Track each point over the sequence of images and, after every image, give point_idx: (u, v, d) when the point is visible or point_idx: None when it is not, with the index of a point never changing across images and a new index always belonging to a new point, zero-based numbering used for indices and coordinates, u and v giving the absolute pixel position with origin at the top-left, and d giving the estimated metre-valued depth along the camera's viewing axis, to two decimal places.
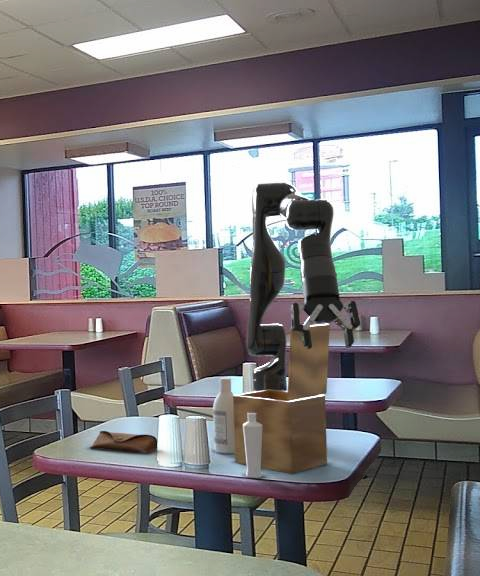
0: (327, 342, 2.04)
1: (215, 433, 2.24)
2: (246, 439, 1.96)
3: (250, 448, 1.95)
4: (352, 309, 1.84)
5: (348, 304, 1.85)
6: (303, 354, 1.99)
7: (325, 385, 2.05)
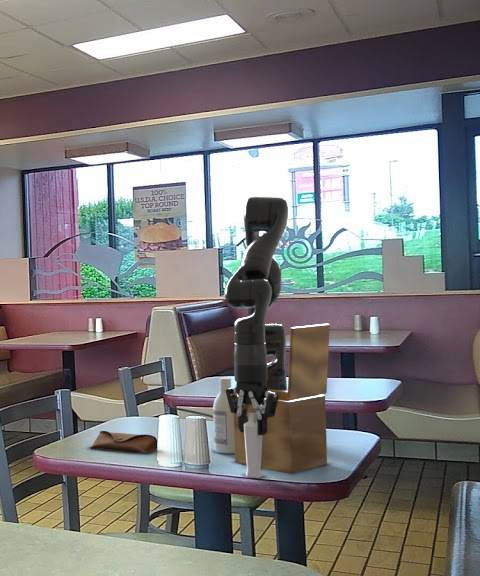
0: (327, 342, 2.04)
1: (215, 433, 2.24)
2: (247, 439, 1.96)
3: (250, 448, 1.95)
4: (267, 401, 1.92)
5: None
6: (303, 354, 1.99)
7: (325, 385, 2.05)
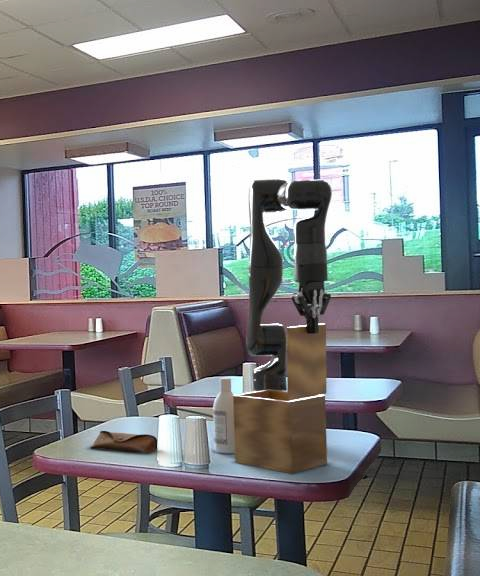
0: (325, 341, 2.05)
1: (215, 433, 2.24)
2: None
3: None
4: (326, 300, 2.01)
5: (325, 294, 2.02)
6: (300, 354, 1.99)
7: (325, 385, 2.05)
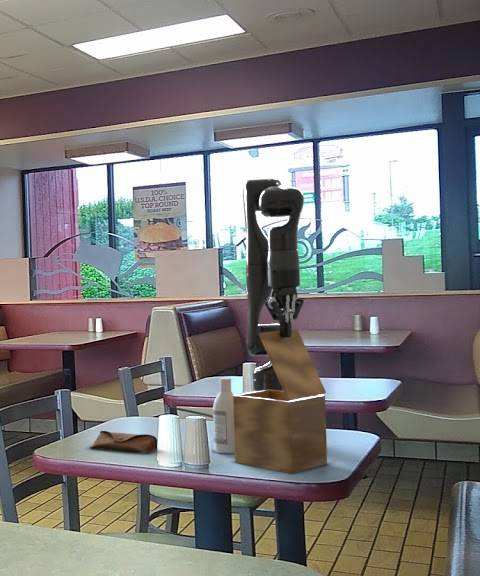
0: (303, 345, 2.10)
1: (215, 433, 2.24)
2: None
3: None
4: (299, 304, 2.08)
5: (298, 299, 2.09)
6: (282, 356, 2.03)
7: (321, 385, 2.06)
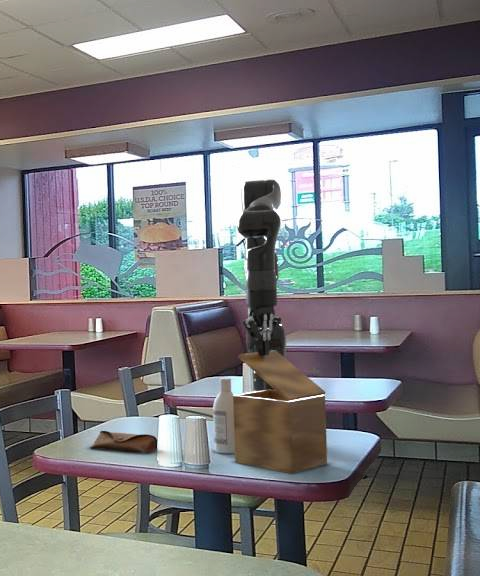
0: (286, 360, 2.14)
1: (215, 433, 2.24)
2: None
3: None
4: (276, 323, 2.13)
5: (275, 318, 2.14)
6: (268, 369, 2.07)
7: (317, 386, 2.07)
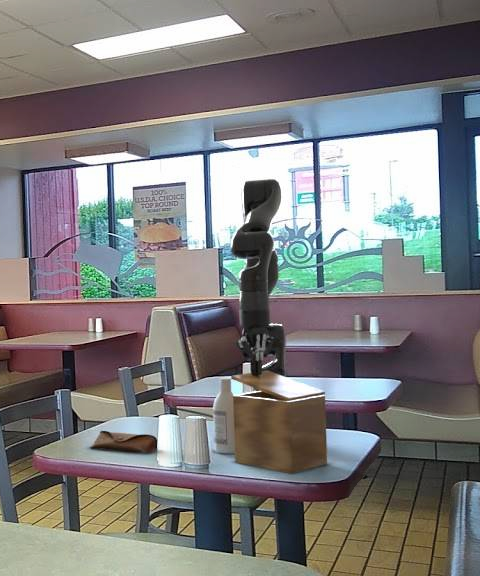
0: (280, 375, 2.16)
1: (215, 433, 2.24)
2: None
3: None
4: (269, 343, 2.15)
5: (268, 337, 2.16)
6: (263, 382, 2.08)
7: (316, 389, 2.07)
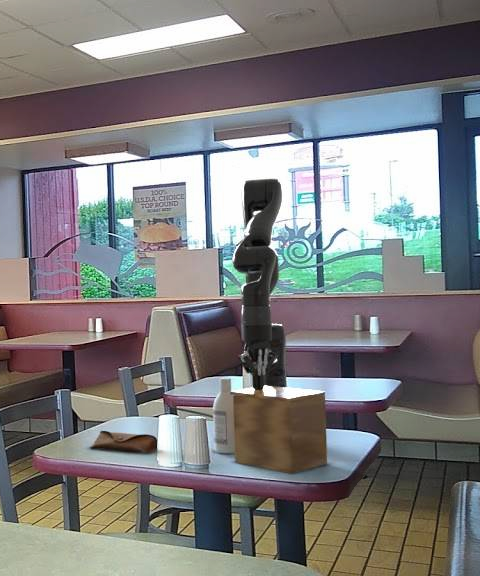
0: (279, 387, 2.16)
1: (215, 433, 2.24)
2: None
3: None
4: (271, 357, 2.15)
5: (270, 352, 2.16)
6: (262, 392, 2.09)
7: (315, 391, 2.07)
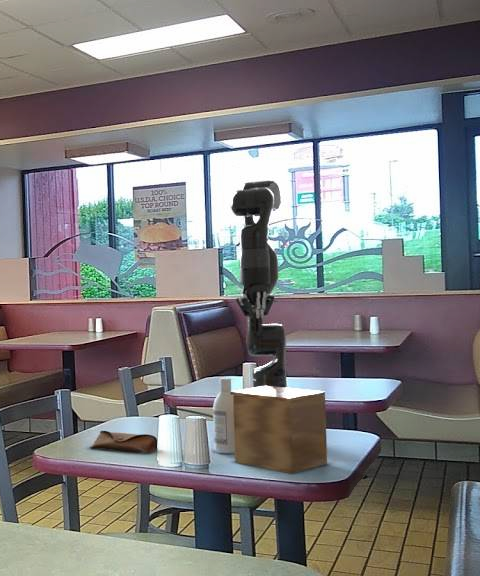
0: (279, 387, 2.16)
1: (215, 433, 2.24)
2: None
3: None
4: (270, 301, 2.15)
5: (269, 296, 2.16)
6: (262, 392, 2.09)
7: (315, 391, 2.07)
